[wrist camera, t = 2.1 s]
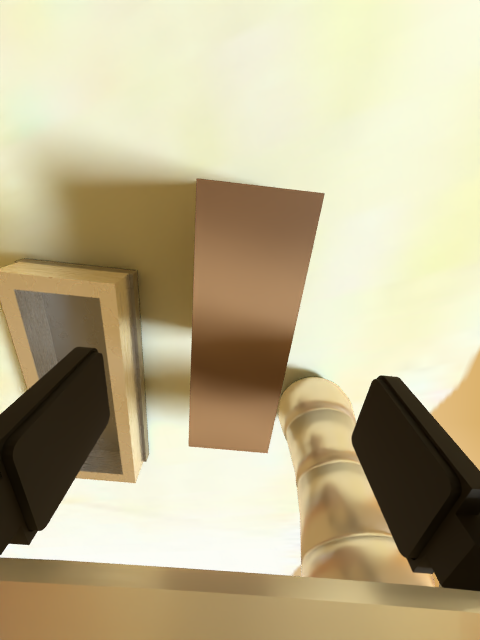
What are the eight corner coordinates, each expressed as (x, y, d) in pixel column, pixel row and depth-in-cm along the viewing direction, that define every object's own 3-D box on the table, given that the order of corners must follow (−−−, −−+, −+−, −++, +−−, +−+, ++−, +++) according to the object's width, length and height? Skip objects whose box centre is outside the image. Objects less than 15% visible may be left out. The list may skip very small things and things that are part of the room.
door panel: (223, 183, 19) (195, 178, 8) (280, 190, 19) (326, 193, 8) (213, 331, 24) (187, 446, 14) (258, 336, 24) (268, 453, 14)
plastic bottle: (337, 417, 29) (495, 807, 11) (273, 417, 29) (321, 801, 11) (347, 367, 26) (584, 783, 8) (276, 367, 26) (347, 775, 8)
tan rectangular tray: (24, 258, 22) (-14, 270, 18) (137, 270, 22) (119, 284, 19) (70, 447, 31) (51, 476, 28) (149, 453, 32) (138, 483, 28)
